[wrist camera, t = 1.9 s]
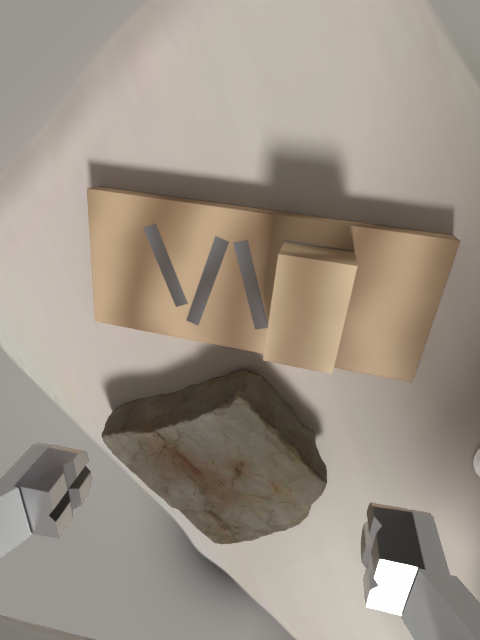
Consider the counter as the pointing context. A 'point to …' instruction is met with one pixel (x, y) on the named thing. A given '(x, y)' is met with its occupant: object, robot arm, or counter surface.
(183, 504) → the marble piece
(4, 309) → the counter surface
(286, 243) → the block
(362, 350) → the board
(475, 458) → the chess piece
